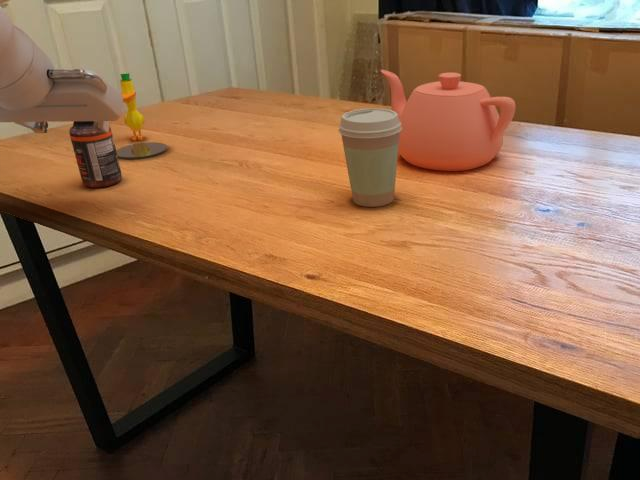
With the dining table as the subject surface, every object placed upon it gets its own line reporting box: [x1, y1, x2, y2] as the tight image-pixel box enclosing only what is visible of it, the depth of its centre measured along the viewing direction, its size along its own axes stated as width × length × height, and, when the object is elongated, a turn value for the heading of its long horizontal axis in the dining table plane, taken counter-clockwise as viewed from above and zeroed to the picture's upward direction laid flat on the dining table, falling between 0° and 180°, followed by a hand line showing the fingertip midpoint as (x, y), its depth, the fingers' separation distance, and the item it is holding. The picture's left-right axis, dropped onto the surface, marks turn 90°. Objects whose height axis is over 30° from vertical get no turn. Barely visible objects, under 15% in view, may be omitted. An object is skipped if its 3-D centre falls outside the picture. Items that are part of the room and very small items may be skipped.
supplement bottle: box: [68, 121, 123, 189], centre depth 102 cm, size 6×6×11 cm
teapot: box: [380, 69, 517, 172], centre depth 107 cm, size 25×17×13 cm
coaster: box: [116, 141, 169, 160], centre depth 118 cm, size 9×9×1 cm
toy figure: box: [119, 72, 146, 142], centre depth 123 cm, size 7×4×12 cm, turn 9°
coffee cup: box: [338, 107, 402, 208], centre depth 91 cm, size 8×8×12 cm
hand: (73, 128), depth 96 cm, fingers open, 8 cm apart
